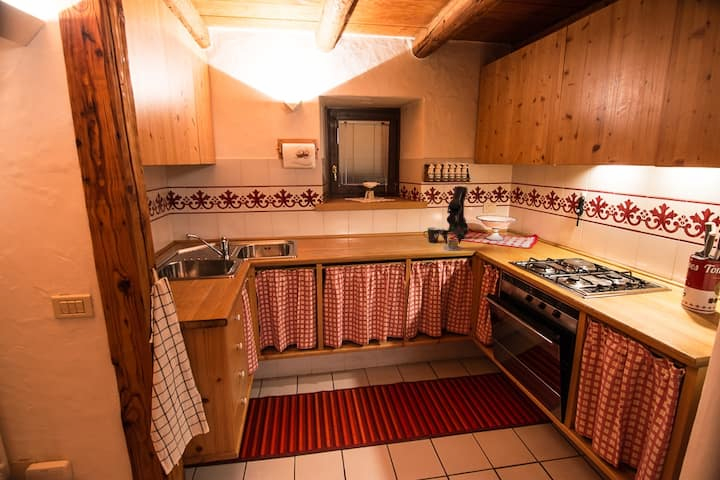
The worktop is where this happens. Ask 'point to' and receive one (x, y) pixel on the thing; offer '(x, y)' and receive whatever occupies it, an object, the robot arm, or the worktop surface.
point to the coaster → (452, 249)
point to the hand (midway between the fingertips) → (452, 244)
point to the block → (453, 244)
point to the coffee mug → (433, 234)
